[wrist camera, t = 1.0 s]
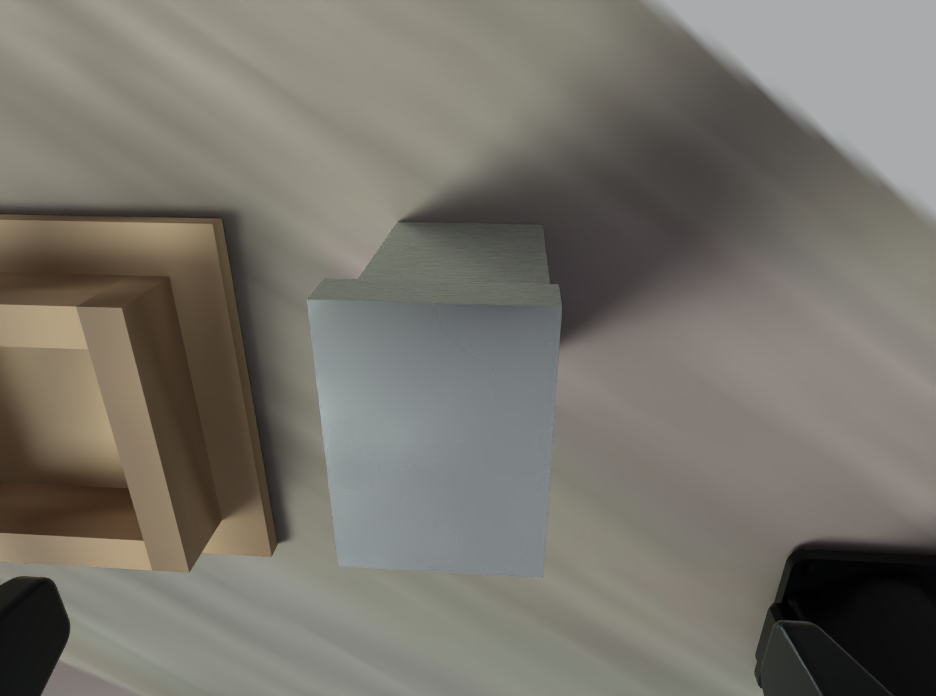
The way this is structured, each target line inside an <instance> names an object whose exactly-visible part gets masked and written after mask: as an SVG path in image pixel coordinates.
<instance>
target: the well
mask: <svg viewBox="0 0 936 696" xmlns="http://www.w3.org/2000/svg"><path fill="white" fill-rule="evenodd" d="M276 547H277V540H276V534H275V528H274V522H273V516H272V510H271V504H270V498H269V493H268V487H267V481H266V475H265V469H264V463H263V457H262V452H261V446H260V440H259V434H258V428H257V422H256V416H255V410H254V405H253V399H252V393H251V387H250V381H249V375H248V369H247V363H246V358H245V352H244V346H243V340H242V334H241V328H240V322H239V316H238V311H237V305H236V299H235V293H234V287H233V281H232V275H231V270H230V264H229V258H228V252H227V246H226V240H225V234H224V228H223V223H222V219H218V218H167V217H115V216H64V215H12V214H0V561H3V562H20V563H37V564H54V565H71V566H88V567H105V568H122V569H139V570H156V571H173V572H190V570H191V569H192V567H193V566H194V564H195V562H196V561H197V559H198V558H199V556H200V554H201V553H213V554H231V555H249V556H266V557H272V555H273V553H274V551H275V549H276Z"/></svg>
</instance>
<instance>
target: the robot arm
mask: <svg viewBox="0 0 936 696" xmlns="http://www.w3.org/2000/svg"><path fill="white" fill-rule="evenodd" d="M805 564H808V565H806V566H803V565H805ZM801 566H803V567H801ZM69 634H70V621H69V618H68V615H67V612H66V610H65V607H64V605H63V602H62V599H61V597H60V594H59V592H58V589H57V587H56V585H55V583H54V582H53V581H52V580H51V579H49V578H46V577H29V576H21V577H16V578H13V579H11V580H9V581H7V582H5V583H4V584H2V585H0V696H41V694H42V692H43V690H44V688H45V686H46V684H47V682H48V680H49V678H50V676H51V674H52V672H53V670H54V668H55V666H56V664H57V662H58V660H59V658H60V656H61V654H62V652H63V650H64V648H65V646H66V643H67V641H68V638H69ZM755 656H756V660H757V664H756V668H755V671H754V675H755V677H756V680H757V683H758V685H759V686H760V688H762V689H763V693H764V696H936V557H933V556H914V555H895V554H876V553H857V552H838V551H819V550H799V551H796V552H793V553H792V554H791V555H790V556H789V557H788V559H787V560H786V564H785V567H784V571H783V574H782V578H781V581H780V585H779V588H778V592H777V595H776V598H775V602H774V603H773V604H772V605H771V606H770V607H769V609H768V612H767V615H766V619H765V622H764V626H763V629H762V633H761V636H760V640H759V643H758V647H757V650H756V654H755Z"/></svg>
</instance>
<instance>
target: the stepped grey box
mask: <svg viewBox="0 0 936 696" xmlns="http://www.w3.org/2000/svg"><path fill="white" fill-rule="evenodd" d="M307 305H308V314H309V322H310V331H311V339H312V348H313V356H314V365H315V373H316V381H317V390H318V398H319V407H320V415H321V424H322V432H323V441H324V449H325V458H326V466H327V474H328V483H329V491H330V500H331V508H332V517H333V525H334V534H335V542H336V551H337V559H338V566H343V567H361V568H378V569H396V570H414V571H432V572H450V573H467V574H485V575H503V576H521V577H539V578H543V575H544V561H545V546H546V532H547V518H548V503H549V489H550V475H551V460H552V446H553V432H554V417H555V403H556V389H557V374H558V360H559V346H560V331H561V317H562V302H561V296H560V290H559V284H550V278H549V271H548V263H547V255H546V247H545V239H544V231H543V224H496V223H444V222H397V223H396V225H395V226H394V228H393V229H392V230H391V232H390V233H389V235H388V236H387V238H386V239H385V241H384V242H383V243H382V245H381V246H380V248H379V249H378V251H377V252H376V254H375V255H374V257H373V258H372V259H371V261H370V262H369V264H368V265H367V267H366V268H365V270H364V271H363V272H362V274H361V275H360V277H359V278H358V279H327V278H324V280H323V281H322V282H321V283H320V284H319V286H318V287H317V288H316V289H315V290H314V292H313V293H312V294H311V295H310V296H309V298H308V299H307Z"/></svg>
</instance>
